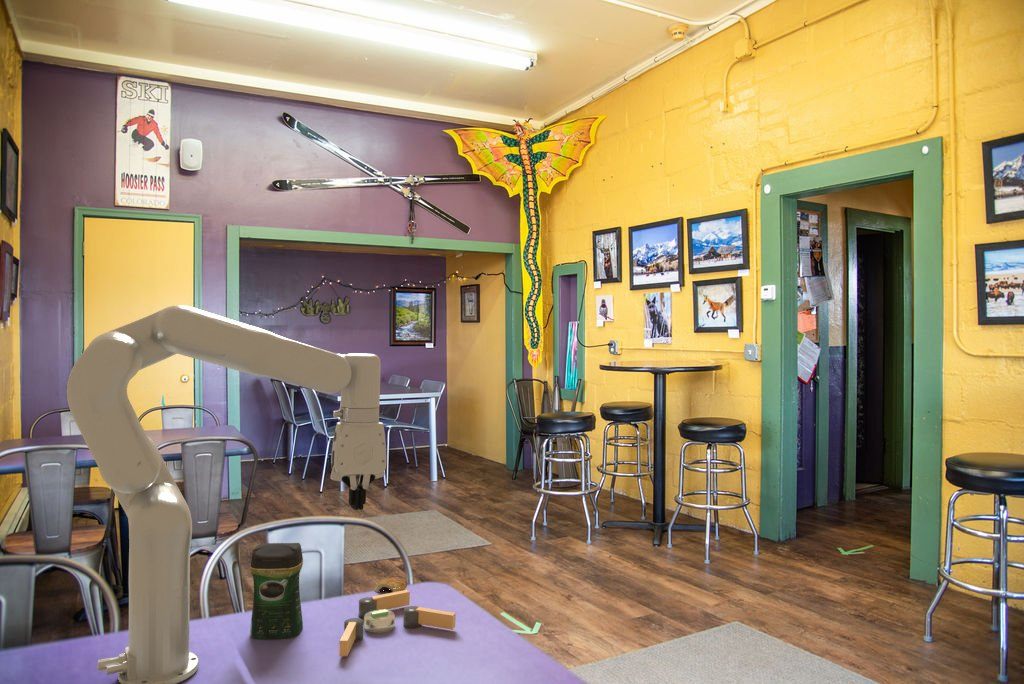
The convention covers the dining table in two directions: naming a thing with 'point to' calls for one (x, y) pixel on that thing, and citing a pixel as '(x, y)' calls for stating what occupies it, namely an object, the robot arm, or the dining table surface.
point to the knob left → (350, 635)
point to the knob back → (383, 602)
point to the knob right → (428, 618)
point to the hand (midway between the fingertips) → (356, 508)
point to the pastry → (391, 585)
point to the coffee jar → (276, 591)
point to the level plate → (379, 621)
